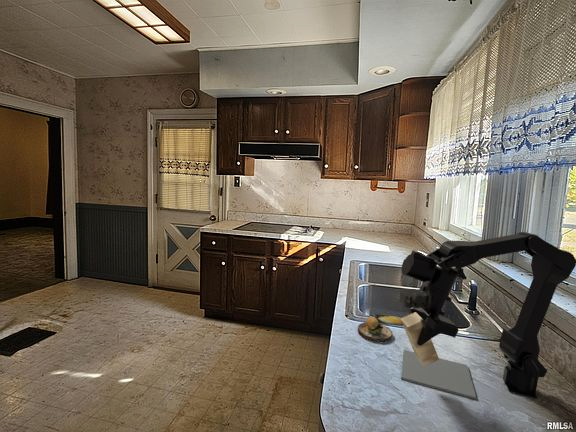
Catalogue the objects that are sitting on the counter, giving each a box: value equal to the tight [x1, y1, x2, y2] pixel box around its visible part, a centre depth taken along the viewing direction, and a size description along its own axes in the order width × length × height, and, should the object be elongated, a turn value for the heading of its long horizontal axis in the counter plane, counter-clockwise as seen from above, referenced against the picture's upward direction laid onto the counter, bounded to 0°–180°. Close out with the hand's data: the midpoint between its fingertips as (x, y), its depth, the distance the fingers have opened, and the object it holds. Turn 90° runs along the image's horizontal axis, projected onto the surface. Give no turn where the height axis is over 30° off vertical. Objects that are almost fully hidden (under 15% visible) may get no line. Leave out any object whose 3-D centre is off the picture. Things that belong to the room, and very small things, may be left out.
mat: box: [401, 349, 477, 400], centre depth 90 cm, size 18×15×1 cm
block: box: [401, 312, 439, 366], centre depth 83 cm, size 4×4×12 cm
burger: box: [357, 316, 393, 344], centre depth 110 cm, size 12×12×8 cm
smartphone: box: [373, 313, 404, 327], centre depth 121 cm, size 7×1×15 cm
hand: (414, 339), depth 83 cm, fingers closed on block, 4 cm apart
